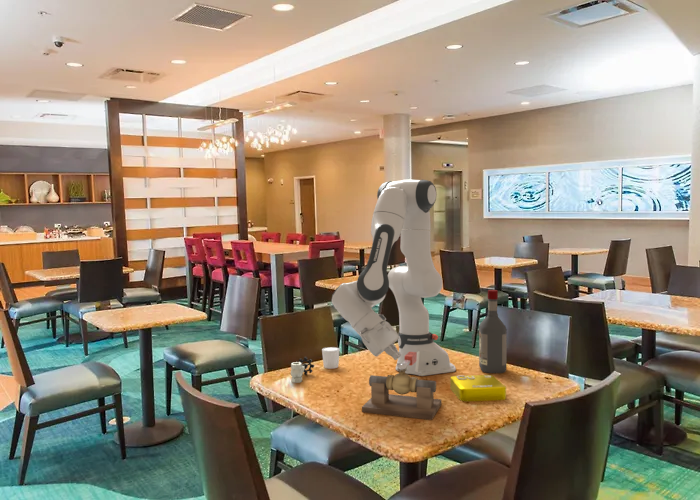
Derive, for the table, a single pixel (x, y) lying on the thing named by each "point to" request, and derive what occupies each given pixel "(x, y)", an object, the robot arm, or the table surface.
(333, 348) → the white cylinder
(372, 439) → the table surface
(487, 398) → the element tile
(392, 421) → the table surface
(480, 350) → the liquor
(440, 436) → the table surface
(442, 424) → the table surface
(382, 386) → the valve stand
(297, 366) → the valve
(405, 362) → the valve lever
